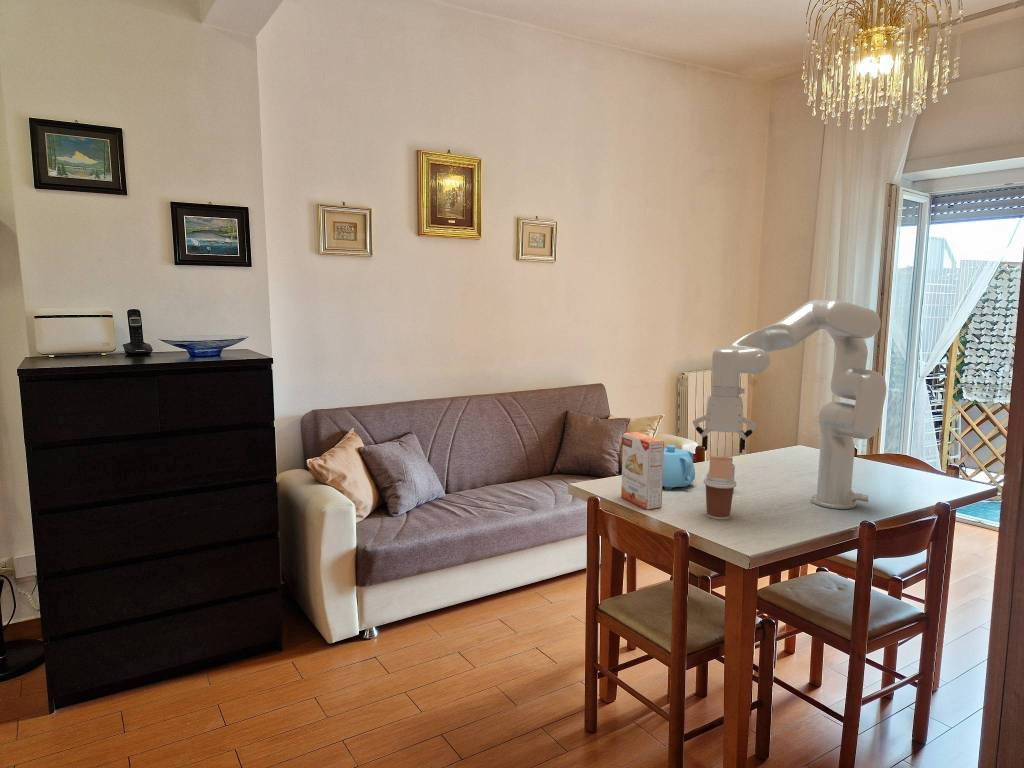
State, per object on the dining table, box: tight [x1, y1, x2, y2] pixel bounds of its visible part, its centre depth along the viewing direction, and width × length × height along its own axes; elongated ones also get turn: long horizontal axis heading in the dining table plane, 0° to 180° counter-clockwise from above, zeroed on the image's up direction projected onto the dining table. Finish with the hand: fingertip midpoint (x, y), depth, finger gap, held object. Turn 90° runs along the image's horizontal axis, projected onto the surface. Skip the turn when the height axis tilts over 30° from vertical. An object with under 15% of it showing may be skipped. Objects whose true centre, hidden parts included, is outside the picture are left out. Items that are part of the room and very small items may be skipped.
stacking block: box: [708, 455, 734, 479], centre depth 190 cm, size 6×6×5 cm
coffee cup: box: [703, 474, 738, 520], centre depth 191 cm, size 9×9×12 cm
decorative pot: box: [662, 444, 696, 490], centre depth 223 cm, size 16×16×14 cm
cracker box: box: [620, 431, 665, 511], centre depth 202 cm, size 14×6×21 cm, turn 23°
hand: (723, 450), depth 190 cm, fingers open, 9 cm apart
